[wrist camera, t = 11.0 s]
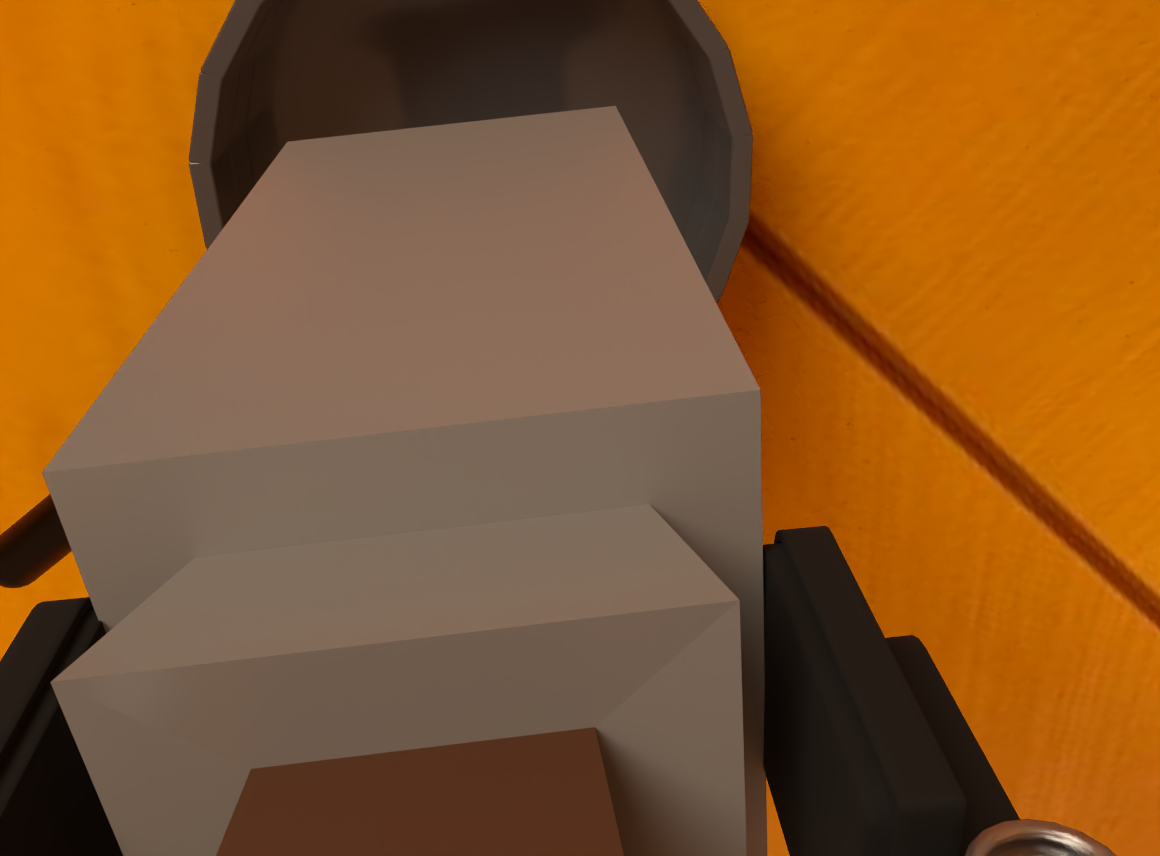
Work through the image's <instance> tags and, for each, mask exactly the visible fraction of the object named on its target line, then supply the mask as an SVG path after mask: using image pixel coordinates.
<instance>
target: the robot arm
mask: <svg viewBox="0 0 1160 856" xmlns="http://www.w3.org/2000/svg"><path fill="white" fill-rule="evenodd" d="M763 603H764V673H765V695H764V751H763V767H764V771H765V774H766V777H767V781H768V784H769V787H770V791H771V794H772V797H773V801H774V804H775V807H776V811H777V814H778V818H779V821H780V824H781V828H782V831H783V834H784V838H785V841H786V844H787V848H788V851H789V854H790V856H1116V855H1115V854H1114V853H1113V852H1112V851H1111V850H1110V849H1109V848H1108V847H1106V846H1104V845H1103V844H1101V843H1099V842H1098V841H1096V840H1094V839H1093V838H1091V837H1089V836H1088V835H1086V834H1084V833H1083V832H1080V831H1078V830H1075V829H1072V828H1069V827H1066V826H1063V825H1061V824H1058V823H1055V822H1047V821H1040V820H1032V819H1023V820H1020V818H1019V817H1018V815H1017V813H1016V811H1015V809H1014V808H1013V806H1012V804H1011V802H1010V800H1009V799H1008V797H1007V795H1006V793H1005V791H1004V789H1003V788H1002V786H1001V784H1000V782H999V780H998V779H997V777H996V775H995V773H994V771H993V769H992V768H991V766H990V764H989V762H988V760H987V759H986V757H985V755H984V753H983V751H982V749H981V748H980V746H979V744H978V742H977V740H976V739H975V737H974V735H973V733H972V731H971V729H970V728H969V726H968V724H967V722H966V720H965V719H964V717H963V715H962V713H961V711H960V709H959V708H958V706H957V704H956V702H955V700H954V699H953V697H952V695H951V693H950V691H949V690H948V688H947V686H946V684H945V682H944V680H943V679H942V677H941V675H940V673H939V671H938V670H937V668H936V666H935V664H934V662H933V660H932V659H931V657H930V655H929V653H928V651H927V650H926V648H925V647H924V645H923V644H922V642H921V641H920V639H918V638H917V637H915V636H913V635H910V636H900V637H889V638H885V637H884V635H883V633H882V631H881V629H880V627H879V625H878V623H877V621H876V619H875V617H874V615H873V613H872V611H871V610H870V608H869V606H868V604H867V602H866V600H865V598H864V596H863V594H862V592H861V590H860V588H859V586H858V584H857V582H856V580H855V578H854V576H853V574H852V572H851V570H850V568H849V566H848V564H847V562H846V560H845V558H844V556H843V554H842V552H841V550H840V548H839V546H838V544H837V542H836V540H835V538H834V536H833V534H832V532H831V531H830V529H829V528H828V527H826V526H819V527H809V528H798V529H788V530H778V531H777V532H776V535H775V540H774V544H767V545H763ZM105 635H106V632H105V629H104V626H103V623H102V621H99V620H98V618H97V615H96V613H95V610H94V607H93V605H92V602H91V599H90V597H87V598H77V599H67V600H56V601H46V602H41V603H38V604H37V605H36V606H35V607H34V608H33V609H32V611H31V612H30V614H29V616H28V617H27V619H26V620H25V622H24V624H23V625H22V627H21V629H20V630H19V632H18V633H17V635H16V637H15V638H14V640H13V642H12V643H11V645H10V646H9V648H8V650H7V651H6V653H5V655H4V656H3V658H2V659H1V661H0V856H123V854H122V851H121V849H120V846H119V844H118V842H117V839H116V837H115V835H114V832H113V830H112V827H111V825H110V823H109V820H108V818H107V816H106V813H105V811H104V808H103V806H102V804H101V801H100V799H99V797H98V794H97V792H96V789H95V787H94V785H93V782H92V780H91V778H90V775H89V773H88V771H87V768H86V766H85V763H84V761H83V759H82V756H81V754H80V752H79V749H78V747H77V744H76V742H75V740H74V737H73V735H72V733H71V730H70V728H69V725H68V723H67V721H66V718H65V716H64V714H63V711H62V709H61V706H60V704H59V702H58V699H57V697H56V695H55V692H54V690H53V687H52V685H51V683H50V682H51V681H52V680H54V679H55V678H56V677H57V676H58V675H59V674H60V673H62V672H63V671H64V670H65V669H66V668H67V667H69V666H70V665H71V664H72V663H73V662H74V661H76V660H77V659H78V658H79V657H80V656H81V655H83V654H84V653H85V652H86V651H87V650H88V649H89V648H91V647H92V646H93V645H94V644H95V643H96V642H98V641H99V640H100V639H101V638H102V637H103V636H105Z"/></svg>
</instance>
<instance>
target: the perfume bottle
mask: <svg viewBox="0 0 1160 856" xmlns="http://www.w3.org/2000/svg"><path fill="white" fill-rule="evenodd" d="M42 473H43V476H44V479H45V481H46V484H47V486H48V489H49V492H50V494H51V497H52V500H53V502H54V505H55V507H56V510H57V513H58V515H59V518H60V521H61V523H62V526H63V528H64V531H65V534H66V536H67V539H68V542H69V544H70V547H71V549H72V552H73V555H74V557H75V560H76V563H77V565H78V568H79V571H80V573H81V576H82V578H83V581H84V584H85V586H86V589H87V592H88V594H89V597H90V599H91V602H92V605H93V607H94V610H95V613H96V615H97V618H98V620H99V621H102V623H103V626H104V629H105V632H106V635H105V636H103V637H102V638H101V639H100V640H99V641H98V642H96V643H95V644H94V645H93V646H92V647H91V648H89V649H88V650H87V651H86V652H85V653H84V654H83V655H81V656H80V657H79V658H78V659H77V660H76V661H74V662H73V663H72V664H71V665H70V666H69V667H67V668H66V669H65V670H64V671H63V672H62V673H60V674H59V675H58V676H57V677H56V678H55V679H54V680H52V681H51V682H50V683H51V685H52V687H53V690H54V692H55V695H56V697H57V699H58V702H59V704H60V706H61V709H62V711H63V714H64V716H65V718H66V721H67V723H68V725H69V728H70V730H71V733H72V735H73V737H74V740H75V742H76V744H77V747H78V749H79V752H80V754H81V756H82V759H83V761H84V763H85V766H86V768H87V771H88V773H89V775H90V778H91V780H92V782H93V785H94V787H95V789H96V792H97V794H98V797H99V799H100V801H101V804H102V806H103V808H104V811H105V813H106V816H107V818H108V820H109V823H110V825H111V827H112V830H113V832H114V835H115V837H116V839H117V842H118V844H119V846H120V849H121V851H122V854H123V856H767V811H766V774H765V771H764V767H763V751H764V695H765V673H764V603H763V534H762V465H761V395H760V388H759V386H758V384H757V382H756V380H755V378H754V376H753V374H752V372H751V370H750V368H749V366H748V364H747V362H746V360H745V358H744V357H743V355H742V353H741V351H740V349H739V347H738V345H737V343H736V341H735V339H734V337H733V335H732V333H731V331H730V329H729V327H728V325H727V323H726V321H725V319H724V317H723V315H722V313H721V311H720V309H719V308H718V306H717V304H716V302H715V300H714V298H713V296H712V294H711V292H710V290H709V288H708V286H707V284H706V282H705V280H704V278H703V276H702V274H701V272H700V270H699V268H698V266H697V264H696V262H695V261H694V259H693V257H692V255H691V253H690V251H689V249H688V247H687V245H686V243H685V241H684V239H683V237H682V235H681V233H680V231H679V229H678V227H677V225H676V223H675V221H674V219H673V217H672V215H671V213H670V212H669V210H668V208H667V206H666V204H665V202H664V200H663V198H662V196H661V194H660V192H659V190H658V188H657V186H656V184H655V182H654V180H653V178H652V176H651V174H650V172H649V170H648V168H647V166H646V164H645V163H644V161H643V159H642V157H641V155H640V153H639V151H638V149H637V147H636V145H635V143H634V141H633V139H632V137H631V135H630V133H629V131H628V129H627V127H626V125H625V123H624V121H623V119H622V117H621V116H620V114H619V112H618V110H617V108H616V106H609V107H600V108H591V109H582V110H572V111H563V112H554V113H545V114H536V115H527V116H518V117H509V118H499V119H490V120H481V121H472V122H463V123H454V124H445V125H435V126H426V127H417V128H408V129H399V130H390V131H381V132H371V133H362V134H353V135H344V136H335V137H326V138H317V139H307V140H298V141H289V142H287V143H286V144H285V146H284V147H283V148H282V150H281V151H280V152H279V154H278V155H277V157H276V158H275V159H274V161H273V162H272V163H271V165H270V166H269V167H268V169H267V170H266V171H265V173H264V174H263V175H262V177H261V178H260V179H259V181H258V182H257V183H256V185H255V186H254V188H253V189H252V190H251V192H250V193H249V194H248V196H247V197H246V198H245V200H244V201H243V202H242V204H241V205H240V206H239V208H238V209H237V210H236V212H235V213H234V214H233V216H232V217H231V219H230V220H229V221H228V223H227V224H226V225H225V227H224V228H223V229H222V231H221V232H220V233H219V235H218V236H217V237H216V239H215V240H214V241H213V243H212V244H211V245H210V247H209V248H208V250H207V251H206V252H205V254H204V255H203V256H202V258H201V259H200V260H199V262H198V263H197V264H196V266H195V267H194V268H193V270H192V271H191V272H190V274H189V275H188V277H187V278H186V279H185V281H184V282H183V283H182V285H181V286H180V287H179V289H178V290H177V291H176V293H175V294H174V295H173V297H172V298H171V299H170V301H169V302H168V303H167V305H166V306H165V308H164V309H163V310H162V312H161V313H160V314H159V316H158V317H157V318H156V320H155V321H154V322H153V324H152V325H151V326H150V328H149V329H148V330H147V332H146V333H145V334H144V336H143V337H142V339H141V340H140V341H139V343H138V344H137V345H136V347H135V348H134V349H133V351H132V352H131V353H130V355H129V356H128V357H127V359H126V360H125V361H124V363H123V364H122V365H121V367H120V368H119V370H118V371H117V372H116V374H115V375H114V376H113V378H112V379H111V380H110V382H109V383H108V384H107V386H106V387H105V388H104V390H103V391H102V392H101V394H100V395H99V396H98V398H97V399H96V401H95V402H94V403H93V405H92V406H91V407H90V409H89V410H88V411H87V413H86V414H85V415H84V417H83V418H82V419H81V421H80V422H79V423H78V425H77V426H76V428H75V429H74V430H73V432H72V433H71V434H70V436H69V437H68V438H67V440H66V441H65V442H64V444H63V445H62V446H61V448H60V449H59V450H58V452H57V453H56V454H55V456H54V457H53V459H52V460H51V461H50V463H49V464H48V465H47V467H46V468H45V469H44V471H43V472H42Z"/></svg>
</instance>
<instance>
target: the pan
mask: <svg viewBox="0 0 1160 856" xmlns="http://www.w3.org/2000/svg"><path fill="white" fill-rule="evenodd" d="M609 106H616V108H617V110H618V112H619V114H620V116H621V117H622V119H623V121H624V123H625V125H626V127H627V129H628V131H629V133H630V135H631V137H632V139H633V141H634V143H635V145H636V147H637V149H638V151H639V153H640V155H641V157H642V159H643V161H644V163H645V164H646V166H647V168H648V170H649V172H650V174H651V176H652V178H653V180H654V182H655V184H656V186H657V188H658V190H659V192H660V194H661V196H662V198H663V200H664V202H665V204H666V206H667V208H668V210H669V212H670V213H671V215H672V217H673V219H674V221H675V223H676V225H677V227H678V229H679V231H680V233H681V235H682V237H683V239H684V241H685V243H686V245H687V247H688V249H689V251H690V253H691V255H692V257H693V259H694V261H695V262H696V264H697V266H698V268H699V270H700V272H701V274H702V276H703V278H704V280H705V282H706V284H707V286H708V288H709V290H710V292H711V294H712V296H713V298H714V300H715V302H716V303H717V302H718V301H719V299H720V297H721V296H722V294H723V291H724V289H725V286H726V283H727V280H728V278H729V275H730V272H731V269H732V267H733V264H734V261H735V258H736V256H737V253H738V250H739V248H740V245H741V242H742V239H743V237H744V234H745V231H746V228H747V226H748V223H749V220H748V219H749V217H750V195H751V172H752V149H753V135H752V128H751V124H750V121H749V117H748V114H747V110H746V106H745V103H744V99H743V96H742V92H741V89H740V85H739V81H738V78H737V74H736V71H735V67H734V63H733V60H732V56H731V53H730V50H729V48H728V45H727V43H726V42H725V40H724V39H723V38H722V36H721V35H720V33H719V32H718V30H717V29H716V27H715V26H714V24H713V23H712V21H711V20H710V18H709V17H708V15H707V14H706V12H705V11H704V9H703V8H702V6H701V5H700V3H699V2H698V0H235V2H234V4H233V6H232V8H231V10H230V12H229V14H228V16H227V18H226V20H225V22H224V24H223V26H222V28H221V30H220V32H219V34H218V36H217V38H216V40H215V42H214V44H213V46H212V48H211V49H210V51H209V53H208V55H207V57H206V59H205V61H204V63H203V65H202V67H201V72H200V74H199V80H198V88H197V96H196V104H195V112H194V120H193V128H192V136H191V144H190V152H189V161H190V162H189V168H190V173H191V178H192V182H193V187H194V192H195V197H196V202H197V207H198V212H199V217H200V222H201V227H202V232H203V237H204V242H205V246H206V248H207V250H208V248H209V247H210V245H211V244H212V243H213V241H214V240H215V239H216V237H217V236H218V235H219V233H220V232H221V231H222V229H223V228H224V227H225V225H226V224H227V223H228V221H229V220H230V219H231V217H232V216H233V214H234V213H235V212H236V210H237V209H238V208H239V206H240V205H241V204H242V202H243V201H244V200H245V198H246V197H247V196H248V194H249V193H250V192H251V190H252V189H253V188H254V186H255V185H256V183H257V182H258V181H259V179H260V178H261V177H262V175H263V174H264V173H265V171H266V170H267V169H268V167H269V166H270V165H271V163H272V162H273V161H274V159H275V158H276V157H277V155H278V154H279V152H280V151H281V150H282V148H283V147H284V146H285V144H286V143H287V142H289V141H298V140H307V139H317V138H326V137H335V136H344V135H353V134H362V133H371V132H381V131H390V130H399V129H408V128H417V127H426V126H435V125H445V124H454V123H463V122H472V121H481V120H490V119H499V118H509V117H518V116H527V115H536V114H545V113H554V112H563V111H572V110H582V109H591V108H600V107H609Z"/></svg>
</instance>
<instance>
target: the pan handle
mask: <svg viewBox="0 0 1160 856" xmlns="http://www.w3.org/2000/svg"><path fill="white" fill-rule="evenodd" d="M71 551H72V549H71V547H70V544H69V542H68V539H67V536H66V534H65V531H64V528H63V526H62V523H61V521H60V518H59V515H58V513H57V510H56V507H55V505H54V502H53V500H52V497H51V494H50V495H48V496H47V497H46V498H45V499H44V500H42V501H41V502H40V503H39V504H38V505H36V506H35V507H34V508H33V509H31V510H30V511H29V512H28V513H27V514H25V515H24V516H23V517H22V518H21V519H19V520H18V521H17V522H16V523H15V524H13V525H12V526H11V527H10V528H9V529H7V530H6V531H5V532H4V533H2V534H1V535H0V586H3V587H7V588H19V587H23V586H26V585H28V584H30V583H32V582H33V581H35V580H36V579H37V578H39V577H40V576H41V575H42V574H44V573H45V572H46V571H47V570H49V569H50V568H51V567H52V566H54V565H55V564H56V563H57V562H59V561H60V560H61V559H62V558H63V557H65V556H66V555H67V554H68V553H70V552H71Z"/></svg>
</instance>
